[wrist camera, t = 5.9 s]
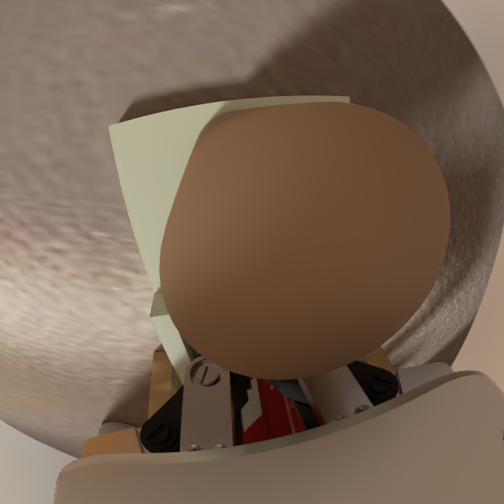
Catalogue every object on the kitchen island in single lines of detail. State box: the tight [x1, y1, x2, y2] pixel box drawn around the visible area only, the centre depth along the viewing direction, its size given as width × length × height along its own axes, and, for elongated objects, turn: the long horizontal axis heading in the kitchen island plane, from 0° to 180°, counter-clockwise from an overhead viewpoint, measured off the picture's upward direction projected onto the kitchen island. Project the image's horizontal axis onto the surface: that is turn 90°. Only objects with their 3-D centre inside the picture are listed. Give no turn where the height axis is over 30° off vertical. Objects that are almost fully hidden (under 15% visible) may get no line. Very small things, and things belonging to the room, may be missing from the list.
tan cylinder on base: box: [109, 96, 451, 385], centre depth 12 cm, size 11×21×11 cm, turn 6°
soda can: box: [242, 377, 304, 444], centre depth 13 cm, size 7×7×12 cm
